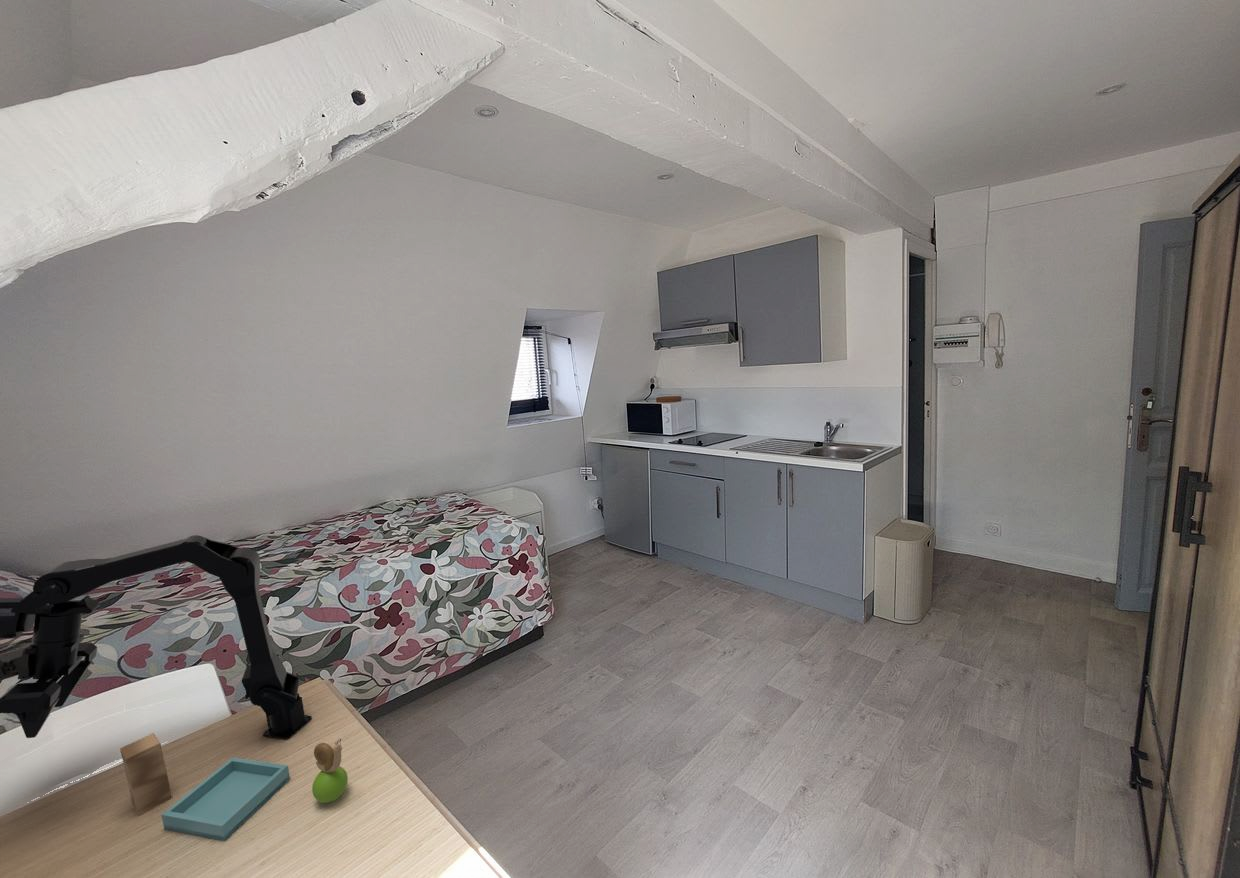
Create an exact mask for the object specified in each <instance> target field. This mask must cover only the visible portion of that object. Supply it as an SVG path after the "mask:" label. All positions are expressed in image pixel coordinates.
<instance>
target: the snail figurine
mask: <svg viewBox="0 0 1240 878" xmlns="http://www.w3.org/2000/svg"><path fill="white" fill-rule="evenodd" d="M341 741H342V738H341V737H339V738H338V739H337V740H336V741H334V746H333V747H332V746H331V745H330V744H328V743H326V742H320V743H318V744H317V745H315V747H314V749H313V755H314V759H315V760H316V762H315V765H316V766H317V768H318V769H319V770H320V772H318V774H317V775H316V776H315V778H314V780H313V782H312V787H311V792H312V796H313V797H314V799H315V801H317V802H319V803H323V804H326V803H327V804H329V803H331V802H334V801H335V800H337V799H339V797H341V796H342V795H343V794H344V792H345V791H346V788H347V785H348V781H349V777H348V773H347V771H346V770H345V768H344V767H342V766H341V762H342V751H343V750H342V749H343V746H342V745H341V743H342V742H341Z"/></svg>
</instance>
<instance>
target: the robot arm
mask: <svg viewBox="0 0 1240 878" xmlns="http://www.w3.org/2000/svg"><path fill="white" fill-rule="evenodd" d="M260 557H261V556H260V554H259V553H258V552H257V551H256V550H254V549H252V548H248V547H237V546H235V545H233V544H231V543H227V542H221V541H217V540H212V539H210V538H208V537H204V536H202V535H195V534H194V535H190V536H188V537H186V538H184V539H180V540H175V541H172V542H167V543H164V544H160V545H155V546H152V547H149V548H144V549H141V550H136V551H133V552H132V551H131V552H129V553H125V554H122V555H118V556H113V557H108V558H106V557H105V558H86V559H79V560H72V561H71V560H70V561H65V562H62V563H59V564H57V566H55V567H53V568H52V569H50V570H49V571H47V572H46V573H44V574H42V575H41V576H39V577H38V578H37V579H36V580H35V582H33V586H32V591H31V592H29V593H28V594H27V595H25V596H24V597H5V598H4V597H0V640H13V639H18V638H20V637H21V636H22V635H23V634H24V633H28V632H30V630H31V629H32V628H33V632H32V638H31V643H30V644H29V645H28V646H27V647H23V648H18V649H15V650H11V651H9V652H4V653H2V654H1V653H0V681H3V680H6V679H9V678H10V679H11V678H13V677H17V680H28V679H29V678H32V680H36V681H35V682H25V683H24V682H23V683H17V684H15V685H14V686H12V687H11V688H10V689H8V690H7V691H5V693H4V694H3V695H2V696H1V697H0V714H7V715H8V714H9V715H10V714H13V715H15V716H16V717H17V719H18V720H19V722H20V725H21V727H22V730H23V732H24V735H25V738H27V739H31V738H32V739H33V738H36V737H37V736H38V735H39V732H40V731H41V729H42V728H43V726H44V725H45V723H46V722H47V720H48V718H49V716H50V715H51V713H52V711H53V709H55V708H60V707H63V706H64V705H65V703H66V702H67V700H68V699H69V696H70V695H71V694H72V692H73V691H74V690H75V688H76V686H77V685H78V684H79V682H80V681H81V678H83V676H84V675H85V673H86V671H87V670H88V669H89V667H90V666H91V664H92V663H93V660H94V659H95V658H96V657H97V651H98V646H97V645H95V644H94V643H92V642H83V641H84V639H85V638H84V637H85V634H81V627H82V619H83V614H91V613H93V612H94V611H95V610H96V609H98V607H99V606H100V605H101V603H100V602H99V601H97V600H96V599H94V598H92V597H91V596H90V595H86V596H84V597H82V598H81V599H76V598H79V597H81V596H83V595H85V594H87V593H90V592H92V591H94V590H96V589H99V588H100V587H102V586H104V585H107V584H110V583H112V582H115V581H118V580H122V579H123V580H124V579H126V578H129V577H133V576H137V575H142V574H144V573H148V572H152V571H155V570H160V569H163V568H166V567H170V566H174V565H177V564H181V563H185V562H188V563H191V564H193V565H194V566H196V567H197V568H199V569H201V570H203V571H204V572H205V573H208V574H210V575H212V576H215V577H218V578H219V580H220V581H221V583H222V585H223V587H224V588H223V589H225V591H226V592H227V594H228V595H229V596H230V597H231V599H232V600H233V601H234V604H235V608H236V611H237V615H238V619H239V623H240V628H241V632H242V636H243V639H244V643H245V648H246V652H247V656H248V661H249V664H248V665H246V667H245V670H244V673H243V675H242V679H241V684H242V686H243V688H244V690H245V698H244V699H245V700H248V699H249V701H250V703H251V704H252V705H253V706H257V707H260V708H261V709H262V710H263V712H264V713H265V717H266V723H267V729H266V730H265V731H264V732H263V733H262V736H263V737H268V738H275V739H283V740H288V739H290V738H291V737H293V736H294V735H295V734H296V733H297V732H298V731H299V730H300V729H301V728H303V727H304V726H305V725H306V724H307V723H309V722H310V721H312V715H307V714H305V709H304V708H305V707H304V703H303V697H302V696H300V693H298V692H299V687H300V681H301V677H299V676H297V675H296V674H293V673H290V672H288V671H287V669H286V667H285V666H284V663H283V662H282V660H281V658H280V657H279V656H278V655H277V653H276V652H275V650H274V648H273V644H272V643H273V642H272V639H271V636H270V631H269V625H268V621H267V618H266V613H265V610H264V609H265V608H264V606H263V601H262V597H261V592H260V580H261V579H260V578H261V560H260V559H261V558H260ZM83 657H84V659H83Z"/></svg>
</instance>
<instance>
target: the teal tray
mask: <svg viewBox="0 0 1240 878" xmlns="http://www.w3.org/2000/svg"><path fill="white" fill-rule="evenodd" d="M290 780H291V777H290V770H289V765H287V764H281V763H279V764H278V763H273V762H267V761H266V762H265V761H261V760H260V761H259V760H254V759H246V758H240V757H234V756H233V757H231V758H230V759H229V760H227V761H226V762H225V763H223V765H221V766H219V768H217V770H215V771H213V773H212V774H210V775H209V776H208V777H206V778H205V779H204V780H202V781H201V782H200V783H199V784H197V785H196V786H195V787H194V788H193V789H192V790H190V791H189V792H188V793H186V794H184V796H183V797H181V798H180V799H179V800H177V802H174V804H173V805H171V806H170V807H169V808H167V810H165V811H164V812H163V813H161V821H162V825H163V829H164V830H167V831H170V832H171V831H172V832H176V833H181V834H186V835H191V836H196V837H201V838H206V839H207V838H208V839H212V840H218V841H221V842H222V841H223V842H226V841H227V840H228V839H229V838H230V837H231V836H232V835H233V834H234V833H235V832H236V831H237V830H239V828H241V826H243V825H244V824H245V823H246V821H248V820H249V819H250V818H251V817H252V816H253V815H254V814H255V813H257V811H258V810H260V809H261V807H263V806H264V805H265V804H266V803H268V801H269V800H270V799H271V798H272V797H273V796H274V795H275V794H276V793H277V792H278V791H279V790H280V789H281V788H283V786H285V785H286V784H287V783H288V781H290Z"/></svg>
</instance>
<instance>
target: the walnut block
mask: <svg viewBox="0 0 1240 878" xmlns="http://www.w3.org/2000/svg"><path fill="white" fill-rule="evenodd" d="M162 749H163V748H162V744H161V742H160V739H158V737H157V735H156V734H155V733H154V732H153V733H150V734H149V735H146V736H144V737H142V738H140V739H138V740H134V741H133V742H131V743H129V744H126V745H124V746H123V747H121V748H119V751H120V754H121V760H122V764H123V769H124V772H125V776H126V782H127V786H128V789H129V790H128V791H129V793H130V798H131V802H132V805H133V808H134V809H135V811H136V814H137V815H138V816H141V815H144V814H145V813H147V812H148V811H151V810H152V809H155V808H156V807H158V806H159V805H162V804H163V803H166V802H167V801H169V800H171V799H173V795H172V791H171V786H170V785H171V784H170V781H169V776H168V772H167V768H166V763H165V759H164V758H165V757H164V753H163V750H162Z"/></svg>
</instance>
